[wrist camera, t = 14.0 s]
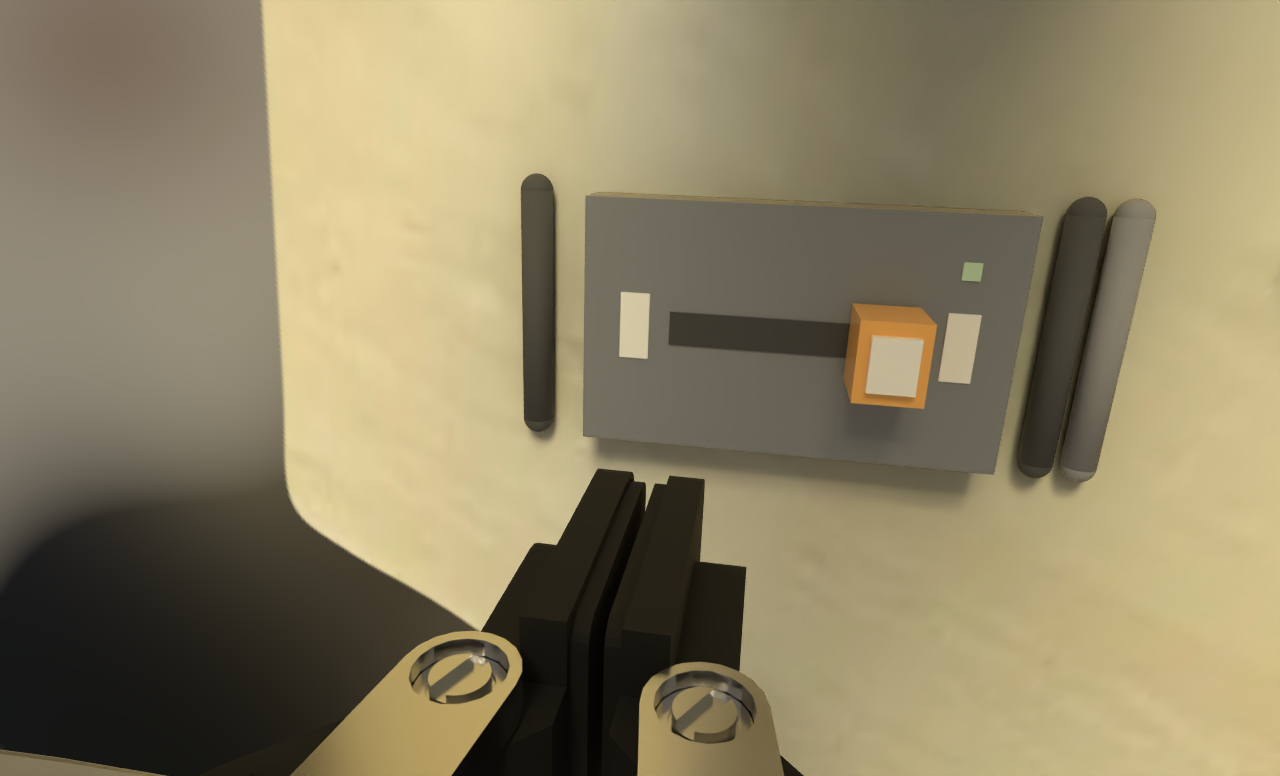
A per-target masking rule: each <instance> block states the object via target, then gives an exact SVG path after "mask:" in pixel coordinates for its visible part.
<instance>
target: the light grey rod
mask: <svg viewBox="0 0 1280 776" xmlns="http://www.w3.org/2000/svg"><path fill="white" fill-rule="evenodd" d="M1155 219H1156V211H1155V209H1154V207H1153V206H1152V205H1151V204H1150V203H1149V202H1147V201H1145V200H1142V199H1133V200H1129V201H1126V202H1124V203H1123V204H1121V205H1120V206H1119V207H1118V208H1117V209H1116V211H1115V213H1114V216H1113V221H1112V225H1111V230H1110V235H1109V239H1108V244H1107V248H1106V253H1105V257H1104V262H1103V267H1102V271H1101V276H1100V280H1099V285H1098V289H1097V294H1096V299H1095V303H1094V308H1093V312H1092V317H1091V321H1090V326H1089V331H1088V335H1087V340H1086V344H1085V349H1084V353H1083V358H1082V363H1081V367H1080V372H1079V376H1078V381H1077V385H1076V390H1075V395H1074V399H1073V404H1072V408H1071V413H1070V417H1069V422H1068V427H1067V431H1066V436H1065V440H1064V445H1063V449H1062V454H1061V458H1060V470H1061V472H1062V474H1063V475H1064V476H1065V477H1066V478H1067V479H1069V480H1071V481H1074V482H1084V481H1087V480H1089V479H1091V478H1092V477H1093V476H1094V474H1095V472H1096V470H1097V465H1098V461H1099V457H1100V453H1101V448H1102V444H1103V440H1104V436H1105V431H1106V427H1107V423H1108V419H1109V415H1110V410H1111V406H1112V402H1113V398H1114V393H1115V389H1116V385H1117V381H1118V376H1119V372H1120V368H1121V364H1122V359H1123V355H1124V351H1125V347H1126V342H1127V338H1128V334H1129V330H1130V325H1131V321H1132V317H1133V313H1134V308H1135V304H1136V300H1137V296H1138V291H1139V287H1140V283H1141V279H1142V274H1143V270H1144V266H1145V262H1146V257H1147V253H1148V249H1149V245H1150V240H1151V236H1152V232H1153V228H1154V224H1155Z"/></svg>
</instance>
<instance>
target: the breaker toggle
mask: <svg viewBox="0 0 1280 776" xmlns="http://www.w3.org/2000/svg"><path fill="white" fill-rule="evenodd" d="M936 329H937V324H936V323H935V322H934V321H933V320H932V319H931V318H930V317H929V316H928V315H927V314H926V313H925V311H924V310H923V309H922V308H919V307H904V306H888V305H872V304H857V303H852V311H851V319H850V328H849V336H848V344H847V352H846V361H845V369H844V377H843V379H844V383H845V386H846V389H847V393H848V396H849V399H850V402H851V403H858V404H870V405H882V406H894V407H906V408H918V409H924V406H925V400H926V393H927V387H928V381H929V374H930V368H931V361H932V355H933V349H934V342H935V336H936Z"/></svg>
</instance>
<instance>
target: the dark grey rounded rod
mask: <svg viewBox="0 0 1280 776" xmlns="http://www.w3.org/2000/svg"><path fill="white" fill-rule="evenodd" d="M521 231H522V305H523V380H524V421H525V423H526V425H527V426H528V427H529V428H530V429H531V430H533V431H537V432H541V431H544V430H546V429H548V428H549V427H550V426H551V424H552V422H553V417H554V339H553V186H552V183H551V181H550V180H549V179H548V178H547V177H546V176H544V175H542V174H531V175H529V176H528V177H526V178H525V180H524V181H523V183H522V186H521Z"/></svg>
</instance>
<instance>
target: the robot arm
mask: <svg viewBox="0 0 1280 776" xmlns="http://www.w3.org/2000/svg"><path fill="white" fill-rule="evenodd" d="M704 488H705V480H704V479H697V478H687V477H677V476H669V479H668V482H667V485H665V484H655V485H654V488H653V491H652V494H651V497H650V499H649V502H648V505H647V508H646V511H645V502H646V484H645V482H635V481H634V475H633V472H627V471H617V470H607V469H598V470H597V471H596V473H595V475H594V476H593V478H592V480H591V482H590V484H589V486H588V488H587V490H586V491H585V493H584V495H583V497H582V499H581V501H580V503H579V505H578V506H577V508H576V510H575V512H574V514H573V516H572V518H571V519H570V521H569V523H568V525H567V527H566V529H565V531H564V533H563V534H562V536H561V538H560V540H559V542H558V544H557V545H552V544H543V543H534V545H533V546H532V547H531V548H530V550H529V552H528V553H527V555H526V557H525V558H524V560H523V562H522V563H521V565H520V567H519V568H518V570H517V572H516V573H515V575H514V577H513V579H512V580H511V582H510V584H509V585H508V587H507V589H506V590H505V592H504V594H503V595H502V597H501V599H500V600H499V602H498V604H497V605H496V607H495V609H494V611H493V612H492V614H491V616H490V617H489V619H488V621H487V622H486V624H485V626H484V627H483V629H482V631H481V632H478V631H464V632H453V633H449V634H445V635H441V636H437V637H435V638H433V639H430V640H429V641H426V642H424V643H422V644H420V645H419V646H417V647H416V648H415V649H413V650H412V651H411V652H410V653H409V654H407V655H406V656H405V657H404V658H403V659H402V660H401V661H400V662H399V663H398V664H397V665H396V666H395V667H394V668H393V670H391V672H390V673H389V674H388V675H387V676H386V677H385V678H384V679H383V680H382V681H381V682H380V683H379V684H378V685H377V686H376V687H375V688H374V689H373V690H372V691H371V692H370V693H369V694H368V695H367V696H366V698H364V700H363V701H362V702H361V703H360V704H359V705H358V706H357V707H356V708H355V709H354V710H353V711H352V712H351V713H350V714H349V715H348V716H347V717H346V718H343V719H341V720H338V721H336V722H333V723H331V724H328V725H325V726H323V727H320V728H317V729H315V730H312V731H310V732H307V733H305V734H302V735H300V736H297V737H294V738H292V739H289V740H287V741H284V742H282V743H279V744H276V745H274V746H271V747H269V748H266V749H264V750H261V751H258V752H256V753H253V754H251V755H248V756H246V757H243V758H240V759H238V760H235V761H233V762H230V763H228V764H225V765H223V766H220V767H217V768H215V769H212V770H210V771H208V772H206V773H204V774H202V775H200V776H803V775H802V774H801V773H800V772H799V771H798V770H797V769H795V768H794V767H793V766H792V765H791V764H790V763H789V762H788V761H786V760H785V759H784V758H783V757H782V756H781V755H780V753H779V748H778V743H777V738H776V733H775V728H774V723H773V718H772V713H771V708H770V705H769V703H768V700H767V698H766V696H765V693H764V692H763V691H762V690H761V689H760V688H759V687H758V685H757V684H756V683H755V682H754V681H753V680H751V679H750V678H748V677H747V676H745V675H744V674H742V673H741V672H739V668H740V653H741V638H742V623H743V608H744V594H745V579H746V567H741V566H732V565H724V564H715V563H707V562H700V551H701V536H702V520H703V505H704ZM0 776H164V775H158V774H152V773H146V772H140V771H134V770H128V769H122V768H117V767H110V766H104V765H98V764H93V763H87V762H81V761H75V760H69V759H63V758H57V757H50V756H43V755H34V754H27V753H20V752H12V751H4V750H0Z"/></svg>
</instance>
